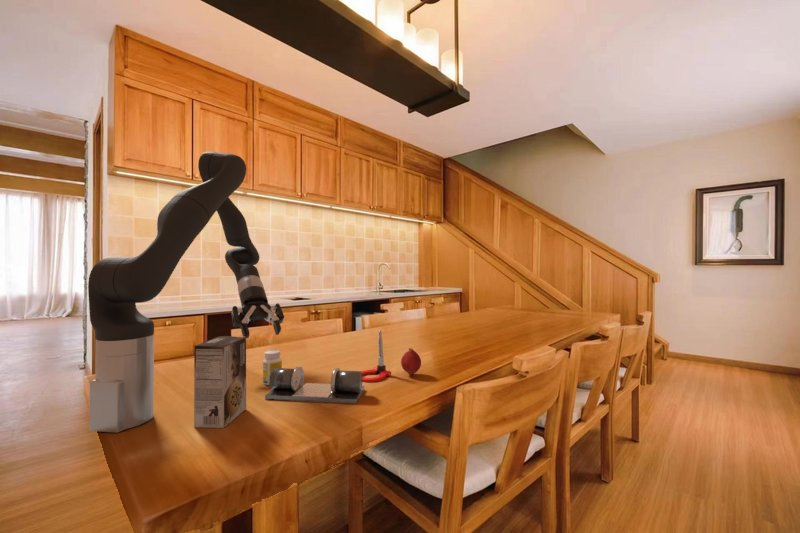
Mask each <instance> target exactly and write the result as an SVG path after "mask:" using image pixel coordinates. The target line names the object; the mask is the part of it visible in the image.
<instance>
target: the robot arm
mask: <svg viewBox="0 0 800 533" xmlns="http://www.w3.org/2000/svg"><path fill="white" fill-rule="evenodd" d="M197 163H198V167H197V168H198V173H199V176H200V178H201V181H202V183H199V184H195V185H194V186H190V187H187V188H186V189H184V190H181V191H180V192H178V193H176V194H175V195H174V196H173V197H172V198H171V199H170V200H168V202H167V203H166V204H165V205H164V206H163V208H162V209H161V210H160V212H159V213H158V216H157V222H156V223H157V224H156V226H157V228H156V229H157V230H156V231H157V234H156V237H155V238H154V240H153V241H152V242H151V243H150V244H149V246H148V247H147V248H145V250H143V251H142V252H141V253H140V254H138V255H137V256H123V257H122V256H110V257H105V258H103V259H101V260H99V261H97V262H96V263H95V264H94V265H93V267H92V268H91V270H90V274H89V276H88V282H87V284H88V285H87V288H88V289H87V291H88V294H87V295H88V308H89V320H90V321H89V322H90V324H91V326H92V329H93V330H94V334H95V350H94V351H95V360H94V363H95V364H94V365H95V366H94V367H95V368H94V371H95V372H94V379H92V380H90V382H89V418H88V419H89V422H88V423H89V427H88V428H89V429H88V431H89V432H102V433H103V432H104V433H116V434H117V433H120V432H122V431H124V430H129V429H132V428H135V427H138V426H141V425H143V424H145V423H147V422H149V421H150V420H152V419H153V418H154V412H155V411H154V408H155V406H154V401H155V400H154V396H155V395H154V394H155V393H154V390H155V389H154V387H155V386H154V385H155V384H154V383H155V379H154V378H155V373H154V371H155V370H154V369H155V362H154V361H155V351H154V350H155V323H154V321H153V319H150V318H148V317H147V316H145V315H144V314H142V313H141V312H140V311H139V310H138V308H137V304H138V303H139V304H142V303H147V302H149V301H151V300H153V299H155V298H156V297H157V296H158V295H159V294H161V292H162V290H163V289H164V288H165V286H166V285H167V283H168V281H169V279H170V278H171V277H172V274H173V273H174V271H175V269H176V267H177V265H178V264H179V262H180V261H181V259H182V257H183V256H184V255H185V253H186V252H187V250H188V249H189V248H190V247H191V245H192V243H193V242H194V241H195V239H196V238H197V237H198V236H199V235H200V233H201V232H202V231H203V230H204V229H205V227H206V226H207V225H208V223H209V221H210V220H211V219H212V217H213V215H215V213H217V215H218V216H219V219H220V222H221V226H222V230H223V232H224V237H225V241H226V243H227V244H228V245H229V246H231V247H234V248H230V249H228V250H226V252H225V254H224V260H225V262H226V264H227V266H228V268H229V269H230V270H231V271H232V273H233V275H234V276H235V280H236V283H237V292H238V293H237V295H238V297H239V300H240V305H241V307H238V306H236V305H234V306H233V305H232V307H231V313H230V314H231V321H232V327H234V328H240V330H241V334H242V337H246V339H249V337H250V330H249V326H248V324H249V322H251V321H252V322H255V321H264V320H265V321H266V322H268V323H271V324H272V327H273V330H274V333H275V336H276V335H279V334H280V333H281V332H282V331H281V330H282V326H281V324H282V323H283V322H284V319H285V315H284V313H283V309H282V306H281V305H280V303H279V302H277V303H276V304H275V305H270V303H269V300H268V297H267V294H266V290H265V288H264V284H263V282H262V279H261V276H260V273H259V270H258V268H257V266H256V265H258V263H259V261H260V253H259V251H258V250H257V248H256V246H255V245H254V244H253V242H252V239H251V237H250V233H249V229H248V224H247V220H246V218H245V216H244V215H243V214H242V212H241V210H240V209H239V208H238V207H237V206H236V205H235V203H234V202H233V200H232V199H231V198H230V196H232V194H234V192H235V191H236V190H237V189H239V187H241V185H242V184H243V182H244V181H245V178H246V174H247V165H246V161H245V160H244V159H243V158H242V157H240V155H236V154H234V153H229V152H228V153H226V152H218V151H204V152H202V154H200V156H199V158H198V162H197ZM240 313H241V314H242V315H244V317H243V319H242V320H240V319H239V316H240Z"/></svg>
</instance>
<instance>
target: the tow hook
mask: <svg viewBox="0 0 800 533" xmlns="http://www.w3.org/2000/svg"><path fill="white" fill-rule="evenodd" d="M382 336H383V335H382V330H379V331H378V338H377V339H378V358H377V359H378V364H377V366H376V367H375V366H374V367H372V368H371V369H366V370H362V375H363V382H364V383H376V382H380V381H382V380H384V379H386V377H391V375H392V371H389V370H387V368H386V366H387V365H385V357H384V349H383V348H384V346H383V345H384V344H383V337H382ZM370 374H371V375H372V374H373V375H375V374H379V375H378V376H375V377H364V376H365V375H370Z"/></svg>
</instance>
